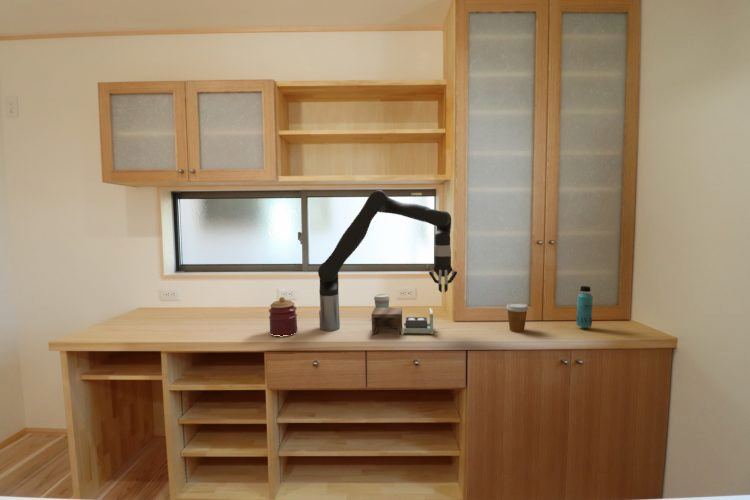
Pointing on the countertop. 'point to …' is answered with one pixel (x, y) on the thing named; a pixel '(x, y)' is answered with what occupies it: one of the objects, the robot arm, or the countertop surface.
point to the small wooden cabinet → (386, 319)
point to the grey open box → (416, 322)
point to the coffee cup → (381, 301)
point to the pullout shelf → (422, 330)
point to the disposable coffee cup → (517, 316)
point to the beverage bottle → (584, 308)
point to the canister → (283, 317)
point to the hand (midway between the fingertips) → (443, 291)
